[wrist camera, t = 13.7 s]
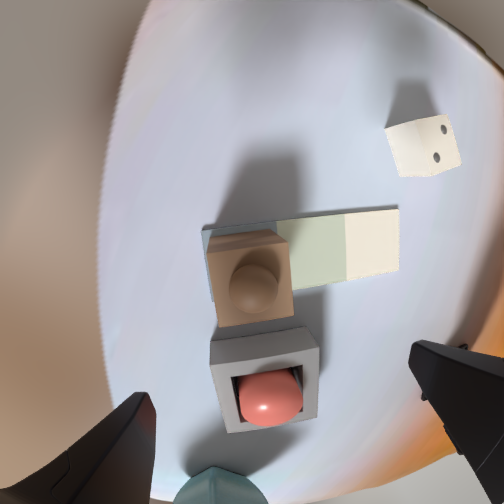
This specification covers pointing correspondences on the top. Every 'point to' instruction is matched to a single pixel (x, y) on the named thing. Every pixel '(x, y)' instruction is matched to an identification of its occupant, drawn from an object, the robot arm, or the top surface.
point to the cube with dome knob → (250, 277)
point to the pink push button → (269, 397)
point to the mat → (331, 246)
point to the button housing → (261, 360)
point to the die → (424, 146)
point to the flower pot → (219, 489)
